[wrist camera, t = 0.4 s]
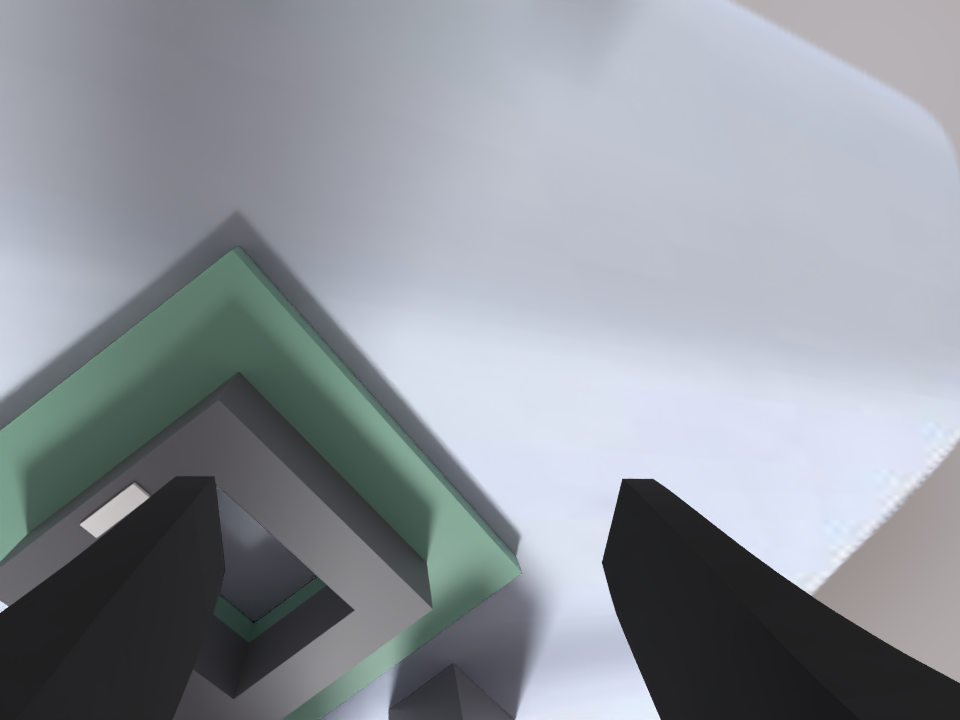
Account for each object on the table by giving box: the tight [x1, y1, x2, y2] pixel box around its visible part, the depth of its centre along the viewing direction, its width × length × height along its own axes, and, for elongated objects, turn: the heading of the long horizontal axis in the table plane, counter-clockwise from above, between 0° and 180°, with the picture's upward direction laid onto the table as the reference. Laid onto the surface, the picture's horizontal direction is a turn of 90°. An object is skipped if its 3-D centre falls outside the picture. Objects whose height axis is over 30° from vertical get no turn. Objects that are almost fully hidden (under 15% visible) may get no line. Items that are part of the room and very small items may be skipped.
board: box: [0, 246, 522, 720], centre depth 20 cm, size 14×16×4 cm
